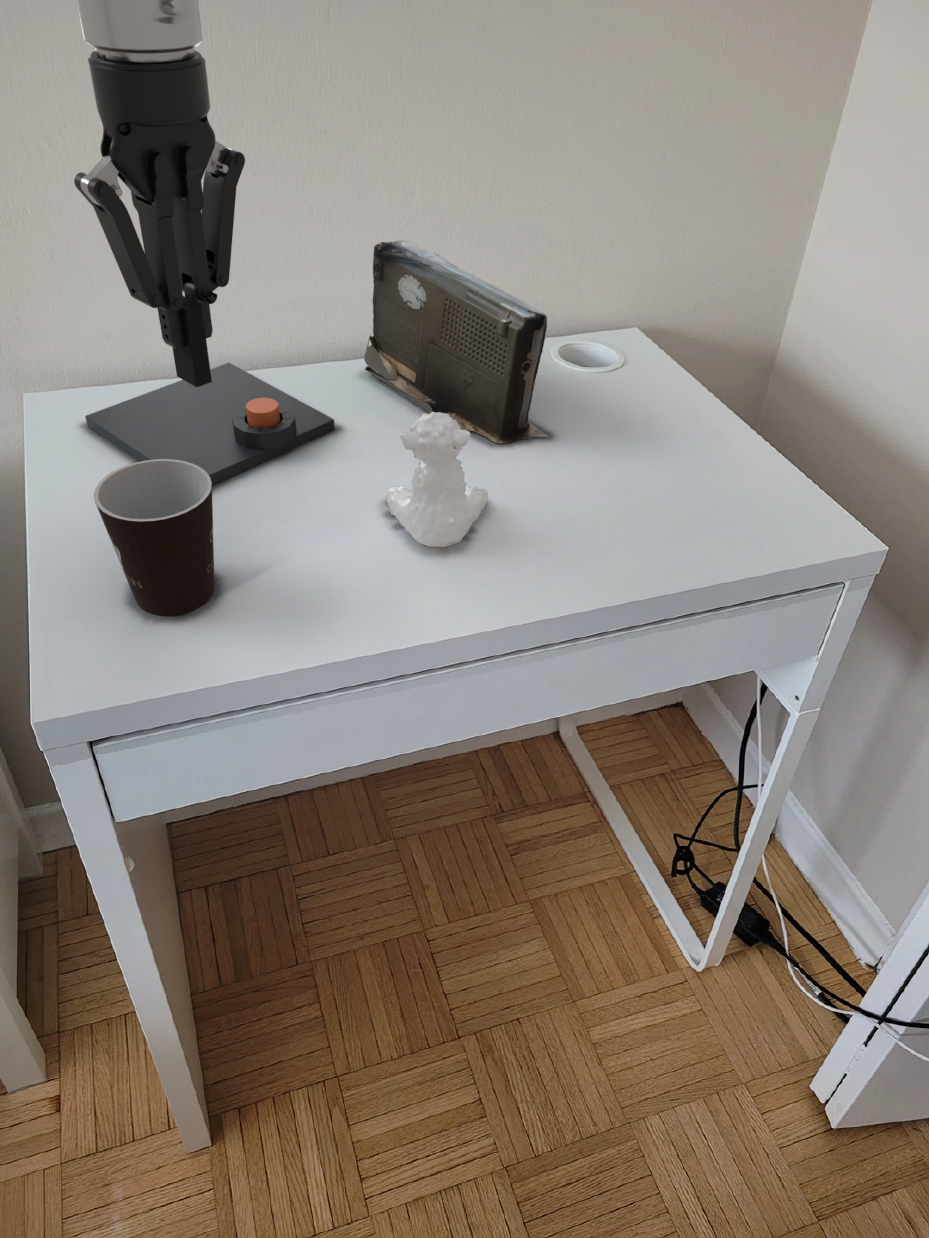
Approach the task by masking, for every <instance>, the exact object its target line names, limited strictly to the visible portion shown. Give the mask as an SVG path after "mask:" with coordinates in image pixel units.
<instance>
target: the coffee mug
mask: <svg viewBox="0 0 929 1238" xmlns="http://www.w3.org/2000/svg"><path fill="white" fill-rule="evenodd" d="M93 499H94V503H95V505H96V509H97V510H98V513H99V515H100V518H101V520H102V522H103V525H104V527H105V530H106V532H107V535H108V537H109V539H110V542H111V544H112V546H113V549H114V551H115V554H116V556H117V559H118V561H119V563H120V564H119V565H120V567H121V568H122V571H123V573H124V576H125V578H126V581H127V583H128V585H129V588H130V591H131V593H132V595H133V597H134V598H133V599H134V600H135V602H136V605H137V606H138V607H139V608H140V610H143V611H144V612H146V613H148V614H150V615H155V616H160V617H177V616H181V615H187V614H189V613H192V612H194V611H197V610H198V609H200V608H201V607H204V606H205V605H206V604H207V603H208V602H209V601H210V599H211V598H212V597H213V595H214V592H215V553H214V551H215V549H214V548H215V547H214V514H213V513H214V512H213V509H214V508H213V485H212V482H211V478H210V476H209V475H208V473H207V472H206V471H205V470H203V469H202V468H201V467H199V466H197V465H195V464H192V463H189V462H186V461H180V460H173V459H153V460H146V461H143V460H139V461H138V460H137V462H133V463H130V464H129V463H128V464H127V465H123V466H121V467H119V468H117V469H115V470H112V471H111V472H110V473H108V474H107V475H105V476H104V477H103V478H102V479H101V480H100V481H99V482H98V484H97V485H96V487H95V489H94V492H93Z"/></svg>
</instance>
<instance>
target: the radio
mask: <svg viewBox="0 0 929 1238" xmlns="http://www.w3.org/2000/svg"><path fill="white" fill-rule="evenodd" d="M372 278H373V281H372V282H373V290H372V291H373V292H372V315H373V318H372V327H373V328H372V335H369V337H368V341H367V344H366V350H365V352H364V357H363V358H364V362H365V364H366V365H367V366H366V367H365V368H364V371H366V372H367V373H369V374H371V375H372V376H373V377H375V378H376V379H378V380H380V381H381V382H382V383H384V384H385V385H387V386H388V387H390V388H391V389H393V390H394V391H396V392H398V393H399V394H400V395H401V396H403V397H405V398H406V399H408V400H409V401H411V402H412V403H414V405H417V406H418V407H420V408H421V409H422V410H424V411H425V412H427V413H428V414H430V413H431V412H435V413H437V412H440V413H446V414H448V415H449V417H452V418H453V420H456V421H457V423H458V425H459V426H460V427H461V428H460V429H462V430H467V431H469V432H474V433H477V434H478V435H481V436H483V437H485V438H486V439H487V440H490V441H491V442H493V443H496V444H510V443H514V442H517V441H520V440H528V439H532V438H537V437H538V438H549V435H548V434H545V433H544V432H543V431H542V430H540V429H539V428H538V427H536V425H534V424H533V422H532V421H530V420H529V413H530V409H531V405H532V402H533V401H532V399H533V395H534V394H533V393H534V389H535V382H536V379H537V375H538V372H539V367H540V363H541V358H542V354H543V352H544V351H543V350H544V345H545V341H546V333H547V328H548V316H547V314H546V313H544V312H543V311H539V310H537V309H536V308H535V307H533V306H531V305H530V304H529V303H528V302H526V301H523V300H522V299H519V298H517V297H516V296H513V295H512V294H511V293H508V292H506V291H504V290H503V289H501V288H499V287H498V286H496V285H494V284H492V283H489V282H487V281H485V280H483V279H481V278H478V277H477V275H475V274H474V273H471V272H467V271H465V270H463V269H461V268H459V267H458V266H456V265H454V264H453V263H451V262H449V261H448V259H446V258H444V257H442V256H440V255H438V254H437V253H435V252H431V251H429V250H426V249H424V248H422V247H419V246H417V245H416V244H414V242H413V243H412V242H411V241H409V240H404V239H399V240H394V241H388V242H387V241H381V242H378V243H376V244H375V245H374V247H373V259H372Z"/></svg>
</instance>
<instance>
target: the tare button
mask: <svg viewBox="0 0 929 1238" xmlns="http://www.w3.org/2000/svg"><path fill="white" fill-rule="evenodd" d="M246 412H247V420H248V424H249V425H250V426H253V427H259V428H264V427H272V426H274V425H276V424H279V422H280V413H279V404H278V402H277V401H275V400H273V399H270V398H257V399H253V400H251V401H249V402H248V403H247V404H246Z"/></svg>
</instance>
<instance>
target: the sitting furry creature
mask: <svg viewBox="0 0 929 1238" xmlns="http://www.w3.org/2000/svg"><path fill="white" fill-rule="evenodd" d="M460 428H461V427H460V426H459V425H458V423H457V421H456V420H453V418H452V417H449V415H448V414H446V413H440V412H437V413H435V412H431V413H422V414H421V417H419V418H418V419H417V420H416V421H415V422H414V423H413V424H411V427H410V428H409V431H402V432H400V433H399V438H400V440H401V442H402V444H403V446H404V449H405V450H407V451H411V452H412V455H413V457H414V458H415V460H416V459H417V460H418V465H417V466H416V467H415V469H414V471H413V476H412V480H411V485H412V489H408V488H407V487H404V486H403V485H402V486H399V485H397V486H395V487H391V488H389V489H388V491H387V493H386V503H387V505H388V507H389V510H390V514H391V516H395V519H397V520H398V522H399V524H400V525H401V527H404V529H405V531H406V532H407V533H409V534H410V535H411V537H412V538H413V539H414V540H415V541H416V542H418V544H420V545H424V546H426V547H428V548H429V547H431V548H446V547H451V546H453V545H457V544H459V543H460V542H461V541H462V540H463V539H464V537H465V536H467V534H468V533H469V531H470V529H471V527H472V525H473V523H474V522H475V521H477V520H478V518H479V516H480V515H481V514H482V510H484V509H485V505H486V504H487V502H488V499H489V492H488V490H487V489H486V488H478V486H477V487H476V486H473V487H472V486H468V487H467V482H466V481H465V475H466V474H465V472H464V470H463V467H462V462H461V460H459V459H458V458H457V457H458V456H459V454H460V452H461V451H462V449H463V447H465V446H466V445H467V443H469V440H470V438H471V433H470V432H471V431H469V430H464V429H460Z"/></svg>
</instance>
